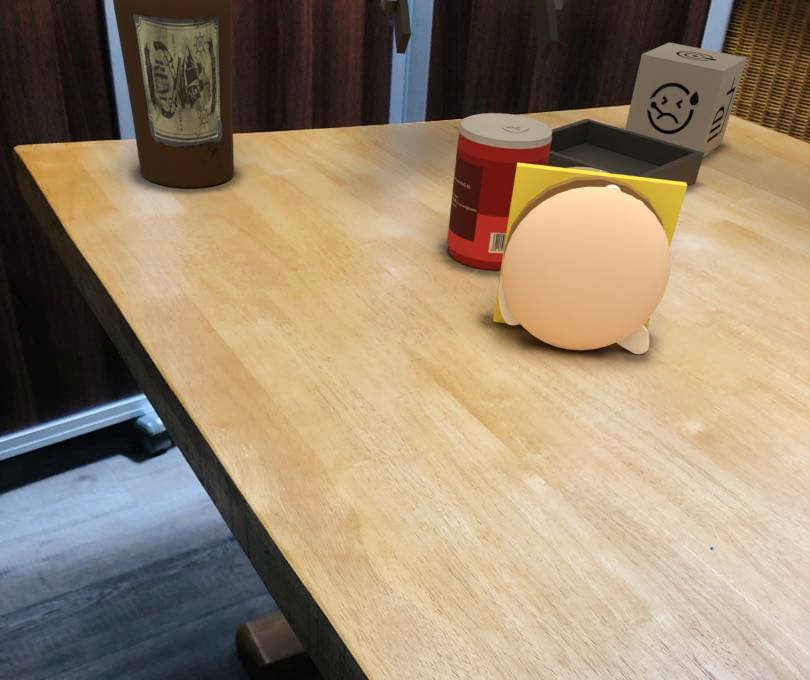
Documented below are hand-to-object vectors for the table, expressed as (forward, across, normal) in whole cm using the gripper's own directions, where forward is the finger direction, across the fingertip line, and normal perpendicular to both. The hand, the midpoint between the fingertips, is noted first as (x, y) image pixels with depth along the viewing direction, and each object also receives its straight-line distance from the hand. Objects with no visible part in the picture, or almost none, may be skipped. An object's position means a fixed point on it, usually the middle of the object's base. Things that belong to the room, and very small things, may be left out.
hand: (477, 47), depth 77 cm
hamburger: (+29, -2, +8) cm, 31 cm away
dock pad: (+3, -20, -18) cm, 27 cm away
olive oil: (+3, +26, -18) cm, 32 cm away
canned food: (+18, 0, -3) cm, 18 cm away
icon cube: (-6, -35, -27) cm, 44 cm away
